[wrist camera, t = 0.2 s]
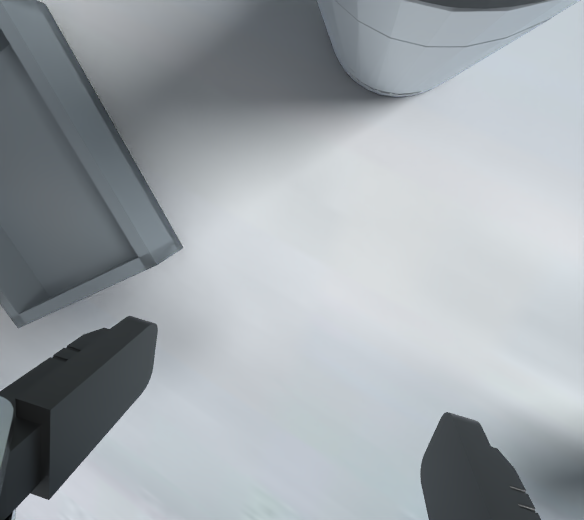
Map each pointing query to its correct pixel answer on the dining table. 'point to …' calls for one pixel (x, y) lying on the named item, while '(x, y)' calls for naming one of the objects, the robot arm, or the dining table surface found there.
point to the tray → (64, 178)
